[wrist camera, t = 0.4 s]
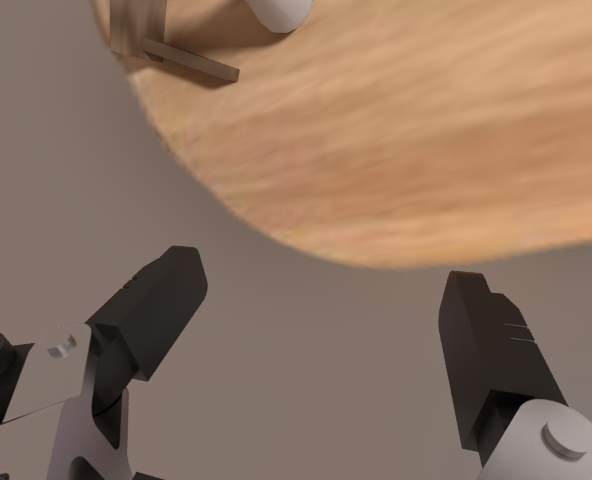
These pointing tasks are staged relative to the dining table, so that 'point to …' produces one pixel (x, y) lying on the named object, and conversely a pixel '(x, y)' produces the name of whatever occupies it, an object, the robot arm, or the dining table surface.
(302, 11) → the salt shaker
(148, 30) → the walnut bay
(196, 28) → the dining table surface
